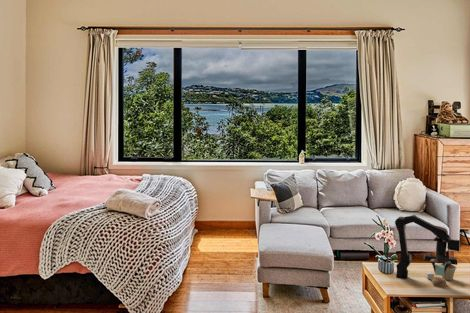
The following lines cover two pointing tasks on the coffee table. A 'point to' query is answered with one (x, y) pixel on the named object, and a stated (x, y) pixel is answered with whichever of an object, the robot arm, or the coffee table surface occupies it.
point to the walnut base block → (438, 282)
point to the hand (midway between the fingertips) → (439, 272)
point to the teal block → (439, 270)
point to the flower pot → (449, 272)
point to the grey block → (429, 275)
